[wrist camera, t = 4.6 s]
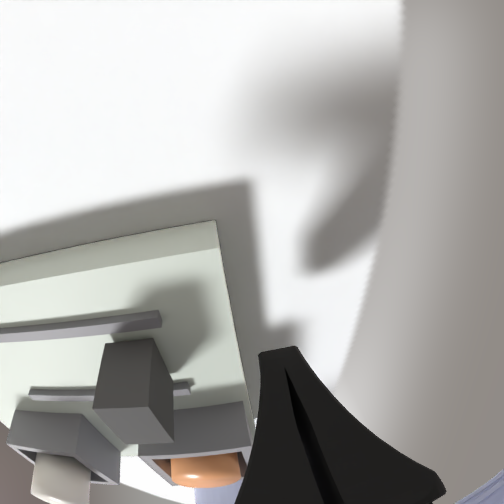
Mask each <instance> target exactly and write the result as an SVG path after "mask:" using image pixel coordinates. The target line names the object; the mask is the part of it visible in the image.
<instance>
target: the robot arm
mask: <svg viewBox="0 0 504 504" xmlns="http://www.w3.org/2000/svg"><path fill="white" fill-rule="evenodd" d="M258 358H259V366H260V373H261V387H260V401H259V411H258V418H257V424H256V431H255V436H254V441H253V445H252V449H251V454H250V457H249V461H248V465H247V468H246V472H245V475H244V478H243V479H241V480H239V481H237V482H235V483H233V484H230V485H226V486H221V487H214V488H194V491H195V501H196V504H433V503H432V502H433V501H434V500H436V499H438V498H439V497H441V496H443V495H444V494H445V493H446V489H445V487H444V485H443V483H442V481H441V479H440V478H439V477H438V475H437V474H436V473H435V472H434V471H433V470H431V469H429V468H427V467H425V466H423V465H421V464H419V463H417V462H415V461H413V460H412V459H410V458H408V457H407V456H405V455H404V454H402V453H400V452H399V451H397V450H396V449H394V448H393V447H391V446H390V445H389V444H387V443H386V442H384V441H383V440H381V439H380V438H379V437H377V436H376V435H375V434H373V433H372V432H371V431H370V430H369V429H367V428H366V427H365V426H364V425H363V424H362V423H360V422H359V421H358V420H357V419H356V418H355V417H354V416H353V415H352V414H351V413H349V412H348V411H347V410H346V408H345V407H344V406H343V405H342V404H341V403H340V402H339V401H338V400H337V399H336V398H335V397H334V396H333V395H332V394H331V392H330V391H329V390H328V389H327V388H326V386H325V385H324V384H323V383H322V382H321V380H320V379H319V378H318V377H317V375H316V374H315V373H314V371H313V370H312V369H311V367H310V366H309V364H308V363H307V362H306V360H305V359H304V357H303V355H302V354H301V352H300V351H299V349H298V347H296V346H290V347H286V348H281V349H276V350H271V351H265V352H261V353H260V354H259V355H258ZM454 504H504V469H503V470H501V471H500V472H499V473H497V474H496V476H495V477H493V478H492V479H491V480H489V481H488V482H486V483H485V484H484V485H482V486H481V487H479V488H478V489H476V490H475V491H473V492H472V493H470V494H469V495H467V496H465V497H464V498H462V499H461V500H459V501H458V502H456V503H454Z"/></svg>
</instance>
